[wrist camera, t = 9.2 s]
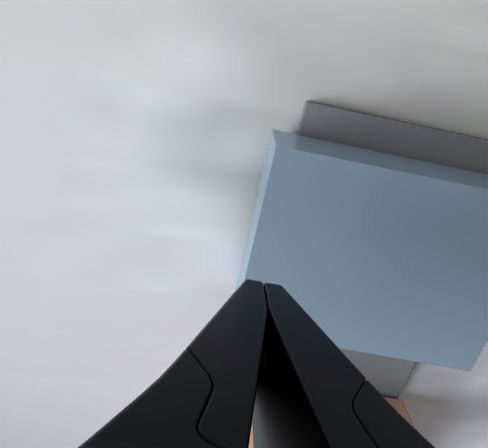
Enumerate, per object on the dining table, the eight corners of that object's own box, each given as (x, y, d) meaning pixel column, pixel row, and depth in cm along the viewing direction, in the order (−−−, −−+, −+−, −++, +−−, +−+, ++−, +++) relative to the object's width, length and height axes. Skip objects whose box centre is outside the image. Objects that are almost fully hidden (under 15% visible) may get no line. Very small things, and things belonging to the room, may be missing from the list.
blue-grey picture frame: (236, 285, 15) (437, 322, 15) (233, 329, 13) (470, 371, 13) (271, 128, 13) (508, 177, 13) (276, 145, 10) (563, 205, 11)
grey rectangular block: (341, 502, 20) (343, 510, 20) (209, 481, 20) (208, 489, 20) (512, 145, 13) (519, 147, 13) (305, 100, 13) (307, 102, 12)
